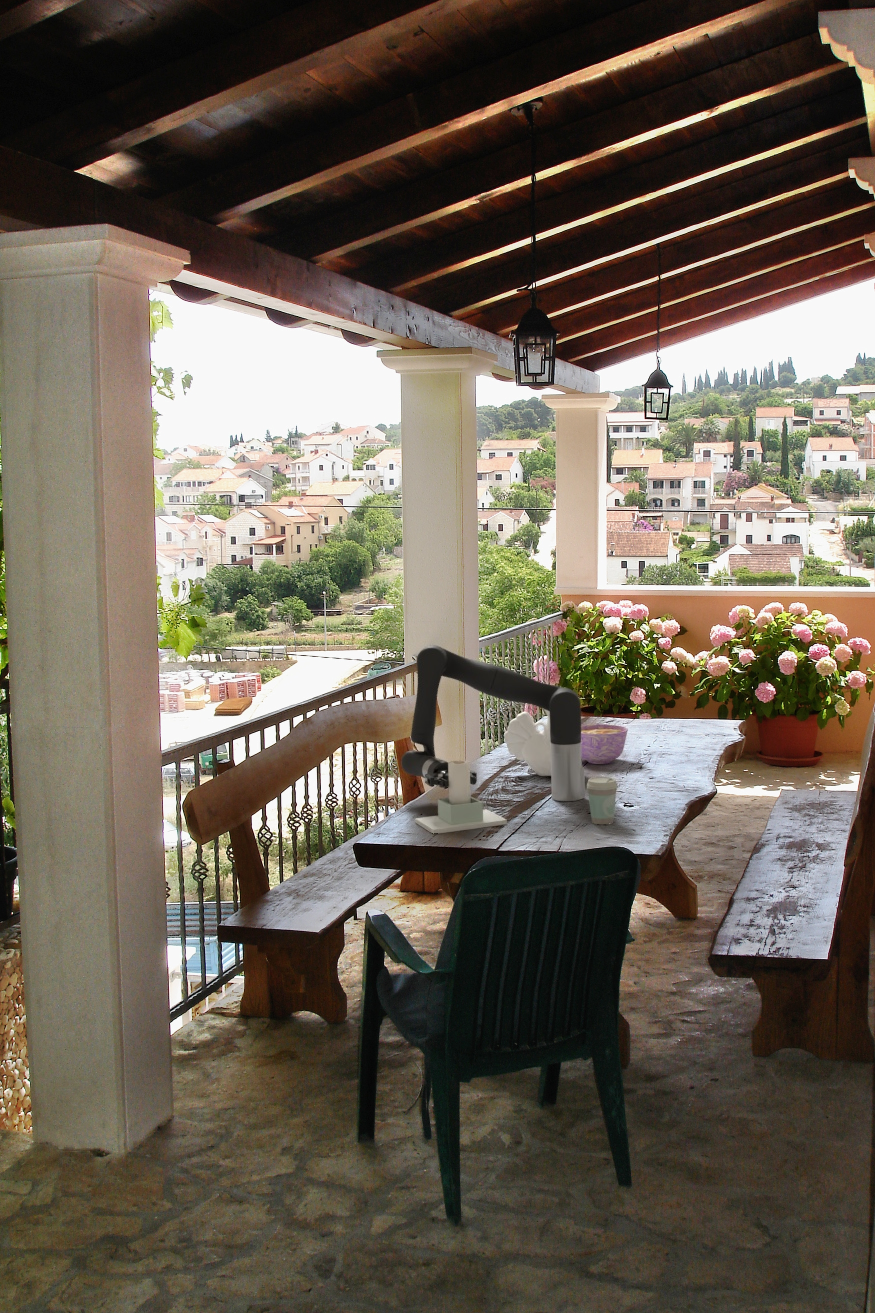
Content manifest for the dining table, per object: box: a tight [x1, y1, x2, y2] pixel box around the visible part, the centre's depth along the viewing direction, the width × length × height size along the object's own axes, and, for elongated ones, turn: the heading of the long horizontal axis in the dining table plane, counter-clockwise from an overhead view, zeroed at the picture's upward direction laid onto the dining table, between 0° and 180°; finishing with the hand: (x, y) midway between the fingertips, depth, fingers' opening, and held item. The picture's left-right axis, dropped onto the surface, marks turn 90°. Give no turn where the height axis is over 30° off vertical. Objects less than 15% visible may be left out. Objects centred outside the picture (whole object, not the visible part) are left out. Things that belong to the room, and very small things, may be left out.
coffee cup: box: [585, 776, 618, 825], centre depth 308 cm, size 8×8×12 cm
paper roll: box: [447, 760, 472, 805], centre depth 311 cm, size 6×6×16 cm
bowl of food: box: [581, 724, 629, 765], centre depth 390 cm, size 20×20×12 cm
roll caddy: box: [414, 796, 508, 835], centre depth 312 cm, size 22×14×6 cm, turn 112°
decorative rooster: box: [503, 709, 551, 777], centre depth 373 cm, size 25×16×25 cm, turn 59°
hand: (460, 782), depth 310 cm, fingers open, 8 cm apart
